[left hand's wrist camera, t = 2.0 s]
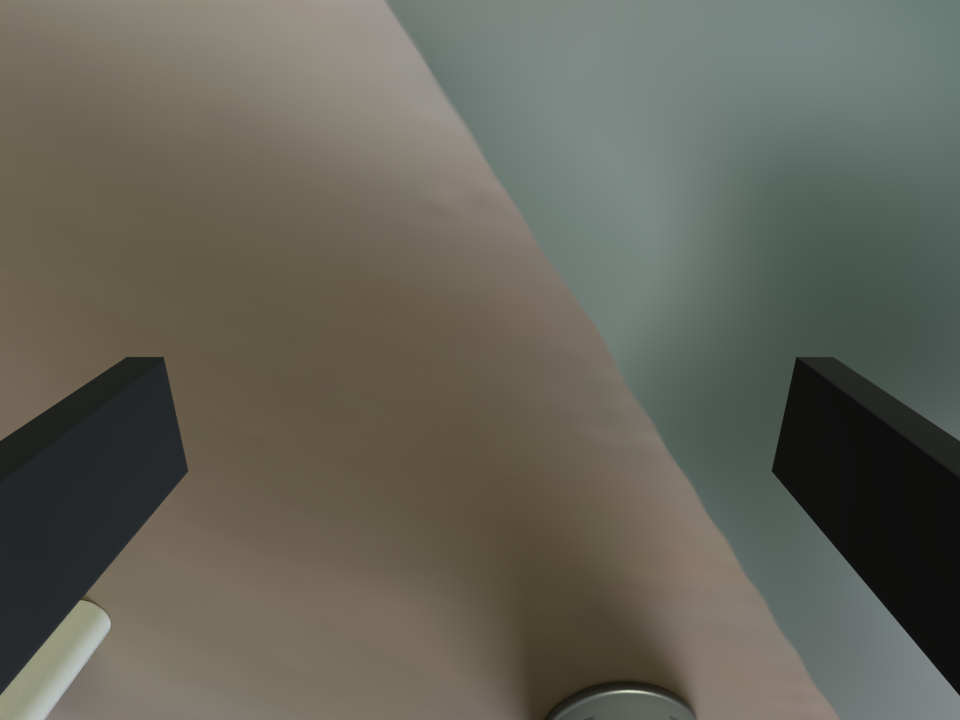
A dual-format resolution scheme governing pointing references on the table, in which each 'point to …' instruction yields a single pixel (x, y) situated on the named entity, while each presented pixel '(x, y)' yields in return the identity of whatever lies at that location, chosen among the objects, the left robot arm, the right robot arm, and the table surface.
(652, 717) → the left robot arm
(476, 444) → the table surface
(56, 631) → the bottle
